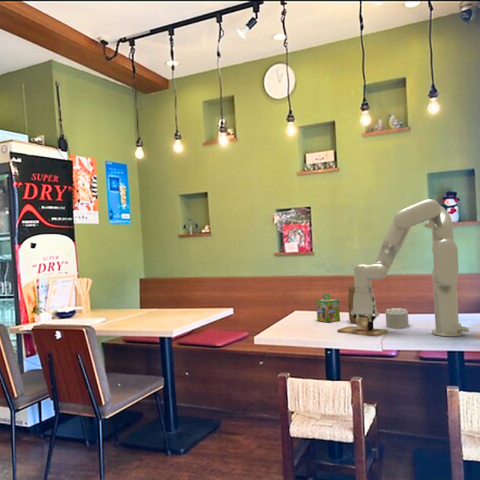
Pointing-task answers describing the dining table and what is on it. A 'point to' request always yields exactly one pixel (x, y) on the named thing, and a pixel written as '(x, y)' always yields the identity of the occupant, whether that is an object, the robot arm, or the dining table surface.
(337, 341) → the dining table surface
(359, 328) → the block
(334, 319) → the chalk box
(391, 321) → the lumpy-topped squat cylinder
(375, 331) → the board
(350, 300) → the block
